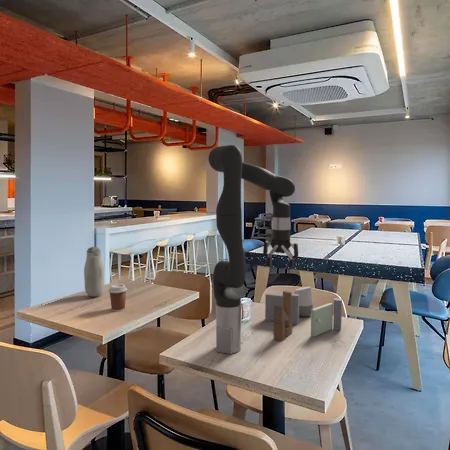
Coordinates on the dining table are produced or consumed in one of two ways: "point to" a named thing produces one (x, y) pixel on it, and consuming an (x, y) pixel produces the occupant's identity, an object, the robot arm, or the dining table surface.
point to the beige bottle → (94, 272)
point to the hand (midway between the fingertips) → (280, 267)
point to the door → (321, 319)
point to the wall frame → (278, 301)
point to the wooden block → (283, 318)
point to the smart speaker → (305, 301)
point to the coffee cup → (117, 297)
